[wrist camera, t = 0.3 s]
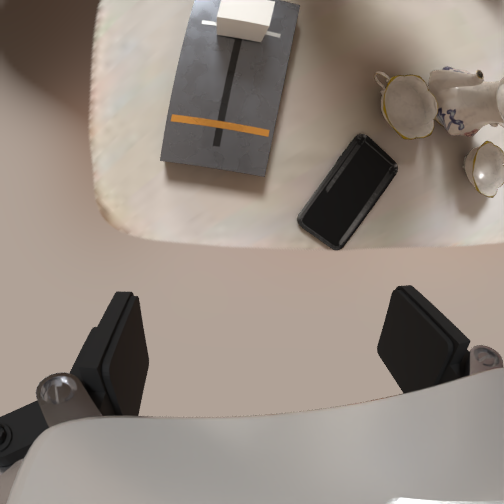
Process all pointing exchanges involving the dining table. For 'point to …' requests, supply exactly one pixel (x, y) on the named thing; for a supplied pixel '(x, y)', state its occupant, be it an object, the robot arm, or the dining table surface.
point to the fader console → (227, 92)
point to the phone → (348, 192)
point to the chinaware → (450, 115)
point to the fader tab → (244, 18)
